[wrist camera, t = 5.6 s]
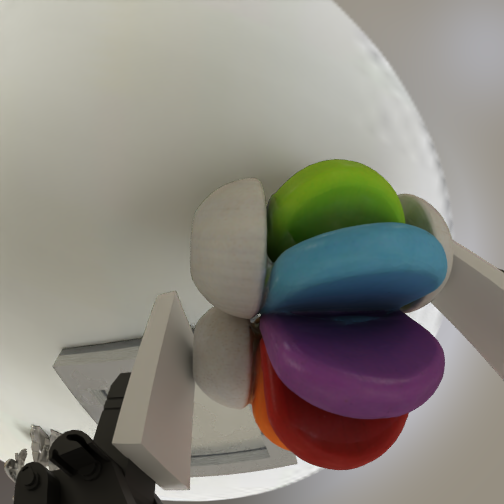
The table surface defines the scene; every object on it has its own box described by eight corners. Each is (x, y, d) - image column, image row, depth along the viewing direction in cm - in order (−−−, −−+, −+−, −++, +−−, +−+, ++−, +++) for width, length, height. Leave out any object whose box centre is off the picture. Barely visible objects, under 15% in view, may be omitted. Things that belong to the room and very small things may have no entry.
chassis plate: (63, 348, 22) (52, 366, 20) (258, 315, 22) (261, 336, 19) (153, 461, 30) (150, 477, 27) (294, 446, 29) (297, 463, 27)
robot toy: (97, 438, 28) (71, 538, 14) (115, 461, 30) (97, 550, 16) (16, 418, 27) (-18, 494, 13) (35, 442, 29) (9, 514, 15)
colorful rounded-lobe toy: (196, 368, 13) (190, 515, 6) (202, 142, 9) (148, 163, 3) (365, 364, 14) (424, 478, 7) (421, 173, 10) (572, 236, 4)
